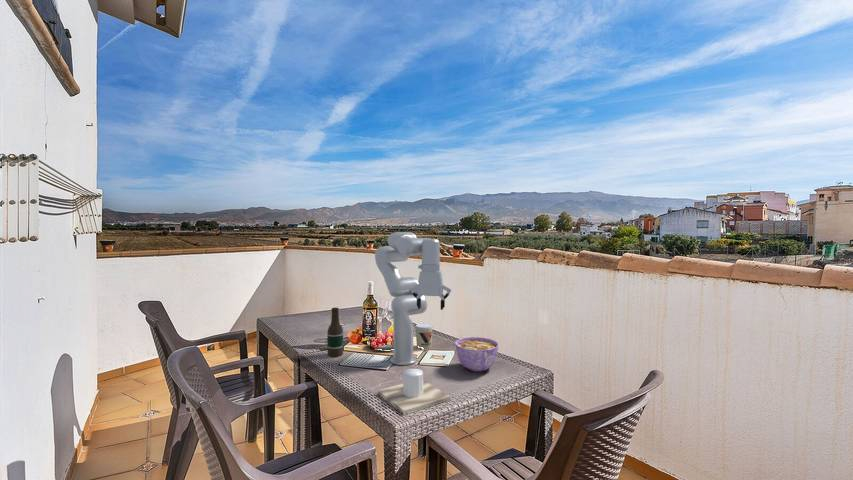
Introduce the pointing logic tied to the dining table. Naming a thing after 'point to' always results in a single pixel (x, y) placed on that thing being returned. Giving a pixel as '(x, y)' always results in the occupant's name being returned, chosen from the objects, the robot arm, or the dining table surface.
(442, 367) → the dining table surface
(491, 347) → the bowl of food
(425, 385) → the beige flat square plate
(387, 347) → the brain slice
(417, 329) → the coffee cup
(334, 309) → the beer bottle
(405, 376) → the elbow
